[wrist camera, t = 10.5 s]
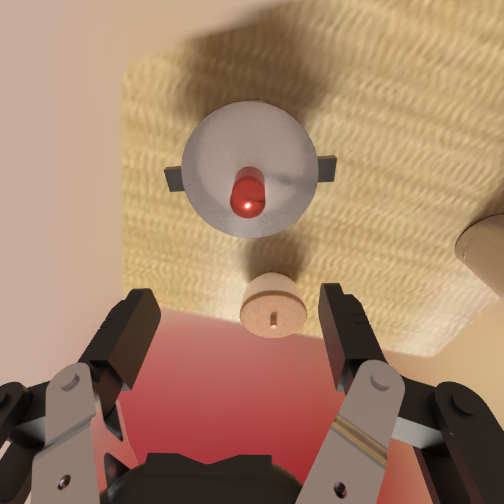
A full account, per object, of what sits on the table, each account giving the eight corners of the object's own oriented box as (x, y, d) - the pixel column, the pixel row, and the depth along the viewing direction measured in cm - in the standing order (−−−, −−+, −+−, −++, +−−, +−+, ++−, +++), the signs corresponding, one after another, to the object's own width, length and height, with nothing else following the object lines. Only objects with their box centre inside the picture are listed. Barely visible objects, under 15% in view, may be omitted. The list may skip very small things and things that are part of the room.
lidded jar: (248, 306, 49) (245, 349, 41) (237, 265, 42) (232, 307, 35) (302, 301, 47) (310, 344, 40) (299, 258, 41) (307, 300, 33)
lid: (322, 95, 21) (344, 102, 16) (309, 228, 29) (320, 263, 24) (171, 104, 22) (142, 114, 17) (198, 232, 30) (185, 267, 25)
